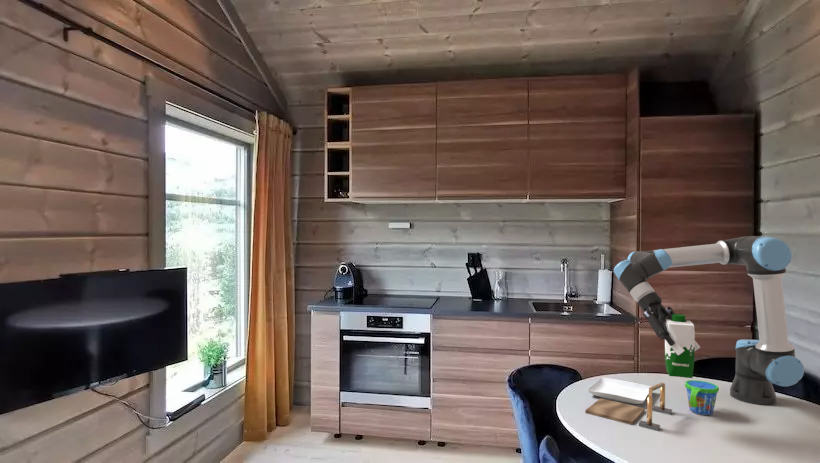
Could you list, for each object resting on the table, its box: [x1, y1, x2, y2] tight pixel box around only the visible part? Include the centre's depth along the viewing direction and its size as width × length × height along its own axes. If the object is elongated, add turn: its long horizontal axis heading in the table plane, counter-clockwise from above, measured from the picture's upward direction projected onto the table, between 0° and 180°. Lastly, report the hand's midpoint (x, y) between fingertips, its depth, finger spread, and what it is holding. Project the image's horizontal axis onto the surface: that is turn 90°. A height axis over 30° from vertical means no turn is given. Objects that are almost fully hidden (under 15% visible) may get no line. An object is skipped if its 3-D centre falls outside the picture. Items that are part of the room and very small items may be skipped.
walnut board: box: [584, 397, 646, 426], centre depth 180 cm, size 16×16×1 cm
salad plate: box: [586, 376, 653, 405], centre depth 198 cm, size 21×21×3 cm
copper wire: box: [638, 382, 673, 432], centre depth 174 cm, size 6×21×10 cm, turn 140°
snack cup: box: [684, 379, 720, 416], centre depth 181 cm, size 16×10×10 cm
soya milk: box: [664, 313, 696, 379], centre depth 169 cm, size 9×9×20 cm
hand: (689, 351), depth 166 cm, fingers closed on soya milk, 8 cm apart
